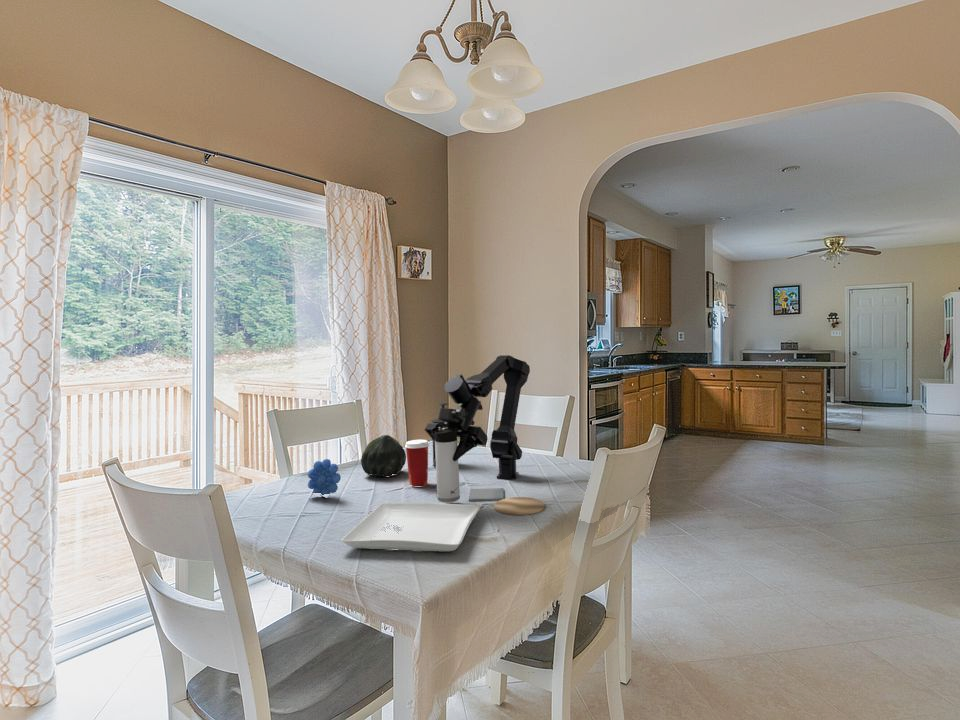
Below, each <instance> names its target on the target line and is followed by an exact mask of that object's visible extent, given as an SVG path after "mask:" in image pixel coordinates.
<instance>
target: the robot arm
mask: <svg viewBox="0 0 960 720" xmlns="http://www.w3.org/2000/svg"><path fill="white" fill-rule="evenodd" d="M530 373H531V369H530V365H529V364H528V363H527V361H524V360H522V359H518V358H516V357H514V356H512V355H509V354H508V355H507V354H505V355H502V354H501V355H498V356H497V357H495V360H494V361H493V362H492V363H490V364H489V365H488V366H487V367H486V368H485V369H484V370H483V371H481V372H480V373H478V374H474V375H471V376H469V377H467V378H466V379H465V378H464V376H463V374H455V376H454V377H451V378H449V379H448V381H446V382H445V384H444V390H445V392H446V393H447V394H448V396H449V397H450V399H451V400H452V401H453V402H454V404H458V405H457V406H456V408H449V407H448V408H446V407H444V408H442V407H441V408H440V409H439V413H438V417H437V419H439V420H442V421H445V423H444V424H445V426H447V428H458V431H457V438H459V441H458V447H457V449H456V451H455V453H454V456H453V461H456V460H458V461H459V459H460V458H461V457H463V456H464V455H465V454H467V453H468V452H469V451H471V450H472V449H474V448H477V447H478V446H483V447H484V446H486V445H487V443H488V440H489V439H488V435H487V434H486V432H485V431H484V429H482V427H481V426H478V425H477V426H474V425H475V423H476V422H475V421H474V419H475V416H476V414H477V412H478V411H482V410H483V405H482V402H481V400H479V399H478V398H486V397H488V396H489V394H490V393H491V391H492V390H493V385H494V383H495V382H496V381H497V380H498V379H499V378H500V377H501V376H502V375H503V379H504V382H505V384H506V388H505V393H504V398H503V405H502V409H501V415H500V423H499V426H498V428H497V429H494V430H493V431H492V432H491V438H490V441H489V442H490V445H489V448H490V452H491V456H492V459H498V474H497V476H496V479H510V480H511V479H517V478H518V476H519V473H520V472H518V471H517V460H518V461H519V460H521V458H522V456H523V450H522V448H521V447H520V445H518V436H517V434H516V431H515V427H516V419H517V414H518V409H519V408H518V407H519V402H520V396H521V390H522V388H523V387H524V385H525V384H526V383H527V382H528V378H529V375H530ZM442 429H444V428H442V426H441V425H440V424H438V423H433V422H429V423H427V424H426V425H425V428H424V431H425V433H426V434H427V435H428V436H429V437H430V438H431V440H432V439H433V440H435V433H436V431H438V430H442ZM433 440H432V441H433ZM434 458H435V459H436V455H435V445H434Z"/></svg>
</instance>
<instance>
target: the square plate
mask: <svg viewBox="0 0 960 720" xmlns="http://www.w3.org/2000/svg"><path fill="white" fill-rule="evenodd" d="M480 510H481V505H479V504H478V505H477V504H461V503H460V504H459V503H444V502H440V503H439V502H382V503H381V504H379V505H378V506H377V507H376V508H375V509H373V510H372V511H371V512H370V513H369V514H368V515H366V516H365V517H364V518H363V519H362V520H361V521H360V522H358V523H357V524H356V525H355V526H354V527H353V528H352V529H351V530H349V532H348V533H347V534H346V535H344V537H342V538H341V540H340V542H341V543H343V544H345V545H347V546H348V547H351V548H355V549H368V550H369V549H370V550H373V549H398V550H416V551H415V552H421V551H439V552H454V551H455V550H456V549H458V547H459V546H460V545H461V544H462V542H463V540H464V538H465V536H466V533H467V531H468V529H469V527H470V525H471V524H472V522H473V521H474V519H475V518H476V516H477V515H478V514H479V512H480ZM387 523H389V524H388V525H387ZM389 525H390V527H389V528H390V529H391V530H390V529H389V528H388V527H387V526H389ZM391 525H392V526H391ZM393 525H394V526H396V525H397V526H398V527H400V528H401V527H402V528H401V529H402V531H399V532H398V531H397V530H396V529H395V530H396V531H397V532H398V533H399V534H398V533H397V532H396V531H394V529H393V527H394V526H393ZM397 526H396V527H397ZM403 526H404V527H403ZM383 527H385V529H386V530H385V529H384V528H383ZM386 527H387V528H388V529H387V528H386ZM396 527H395V528H396ZM382 528H383V529H384V530H385V531H386V532H385V531H384V530H383V529H382ZM400 528H399V529H400ZM381 529H382V530H383V531H382V530H381ZM401 529H400V530H401ZM380 530H381V531H380ZM374 536H375V537H374ZM371 538H372V539H371Z"/></svg>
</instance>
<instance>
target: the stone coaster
mask: <svg viewBox="0 0 960 720" xmlns="http://www.w3.org/2000/svg"><path fill="white" fill-rule="evenodd" d="M504 494H505V493H504V488H503V487H498V488H497V487H495V488H493V487H490V488H489V487H488V488H487V487H486V488H470V489H469V495H468V502H488V501H489V502H490V501H496V502H498V501H500V500H503V499H505V498H504Z"/></svg>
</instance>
